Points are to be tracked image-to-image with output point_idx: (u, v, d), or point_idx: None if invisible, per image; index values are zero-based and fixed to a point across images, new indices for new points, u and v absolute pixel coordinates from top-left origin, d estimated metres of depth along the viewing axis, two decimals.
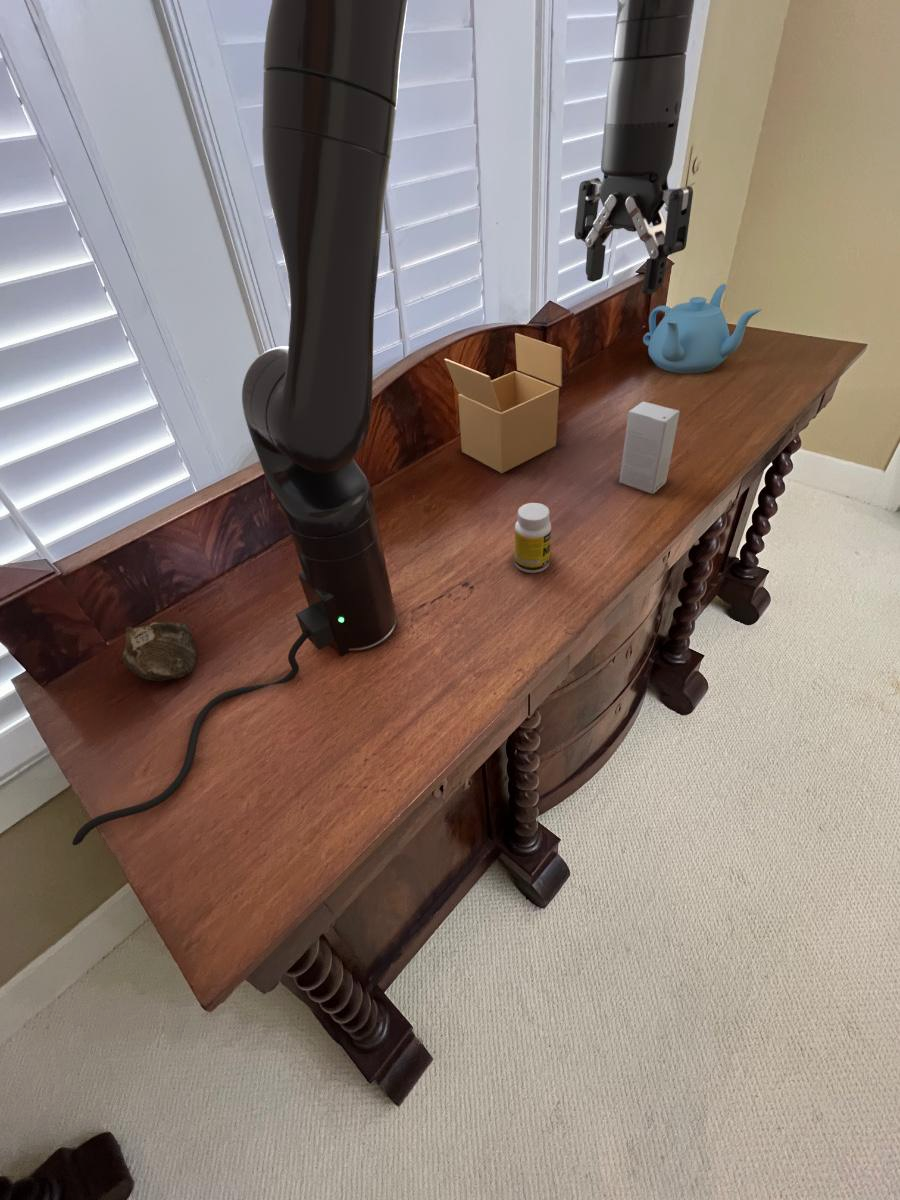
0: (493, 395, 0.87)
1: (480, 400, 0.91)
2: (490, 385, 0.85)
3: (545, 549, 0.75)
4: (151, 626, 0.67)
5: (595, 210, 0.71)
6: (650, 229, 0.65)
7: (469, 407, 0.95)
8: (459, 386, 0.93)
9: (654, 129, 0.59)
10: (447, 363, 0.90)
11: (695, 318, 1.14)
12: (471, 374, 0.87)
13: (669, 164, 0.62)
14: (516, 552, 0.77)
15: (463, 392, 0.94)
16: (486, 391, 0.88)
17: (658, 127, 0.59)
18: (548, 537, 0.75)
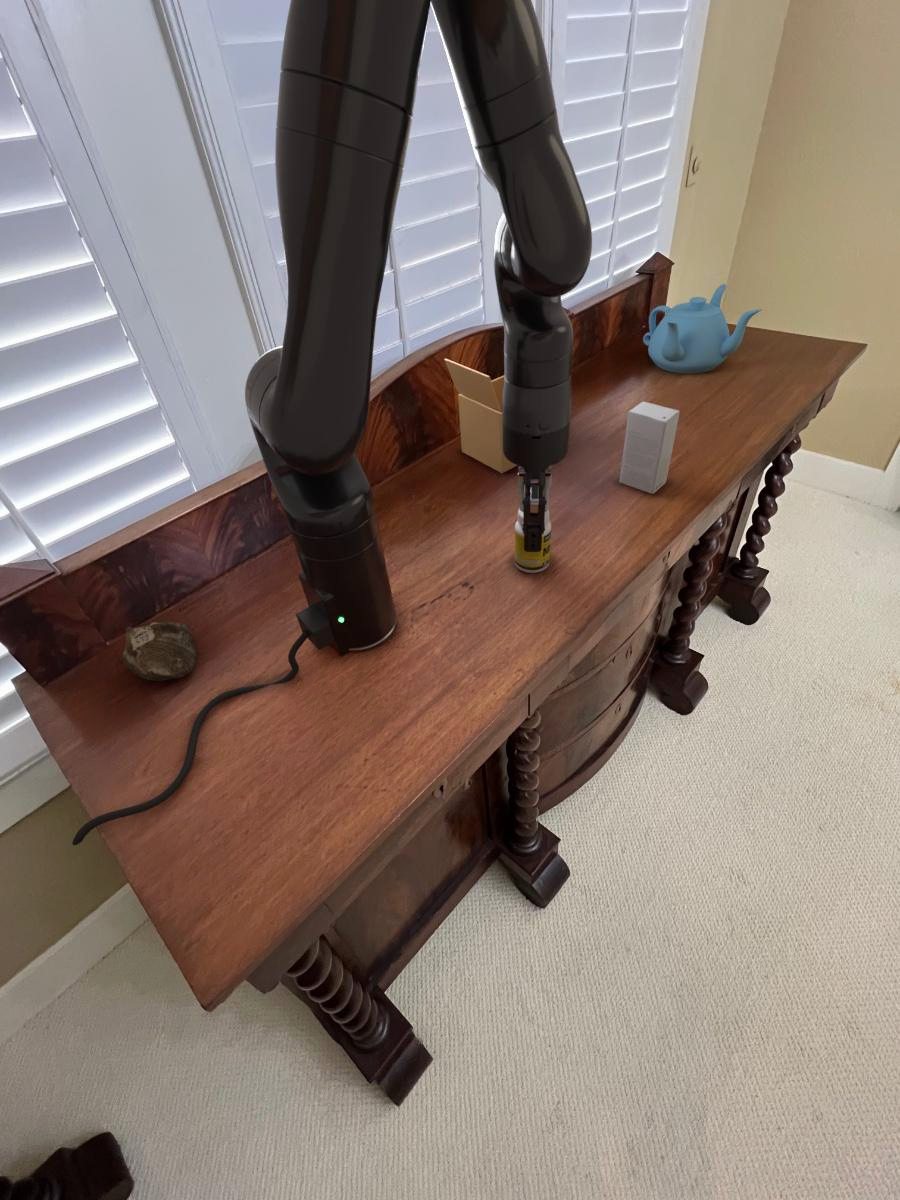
0: (493, 395, 0.87)
1: (480, 400, 0.91)
2: (490, 385, 0.85)
3: (545, 549, 0.75)
4: (151, 626, 0.67)
5: None
6: (524, 507, 0.70)
7: (469, 407, 0.95)
8: (459, 386, 0.93)
9: (518, 436, 0.63)
10: (447, 363, 0.90)
11: (695, 318, 1.14)
12: (471, 374, 0.87)
13: (543, 464, 0.65)
14: (516, 552, 0.77)
15: (463, 392, 0.94)
16: (486, 391, 0.88)
17: (521, 436, 0.63)
18: (548, 537, 0.75)
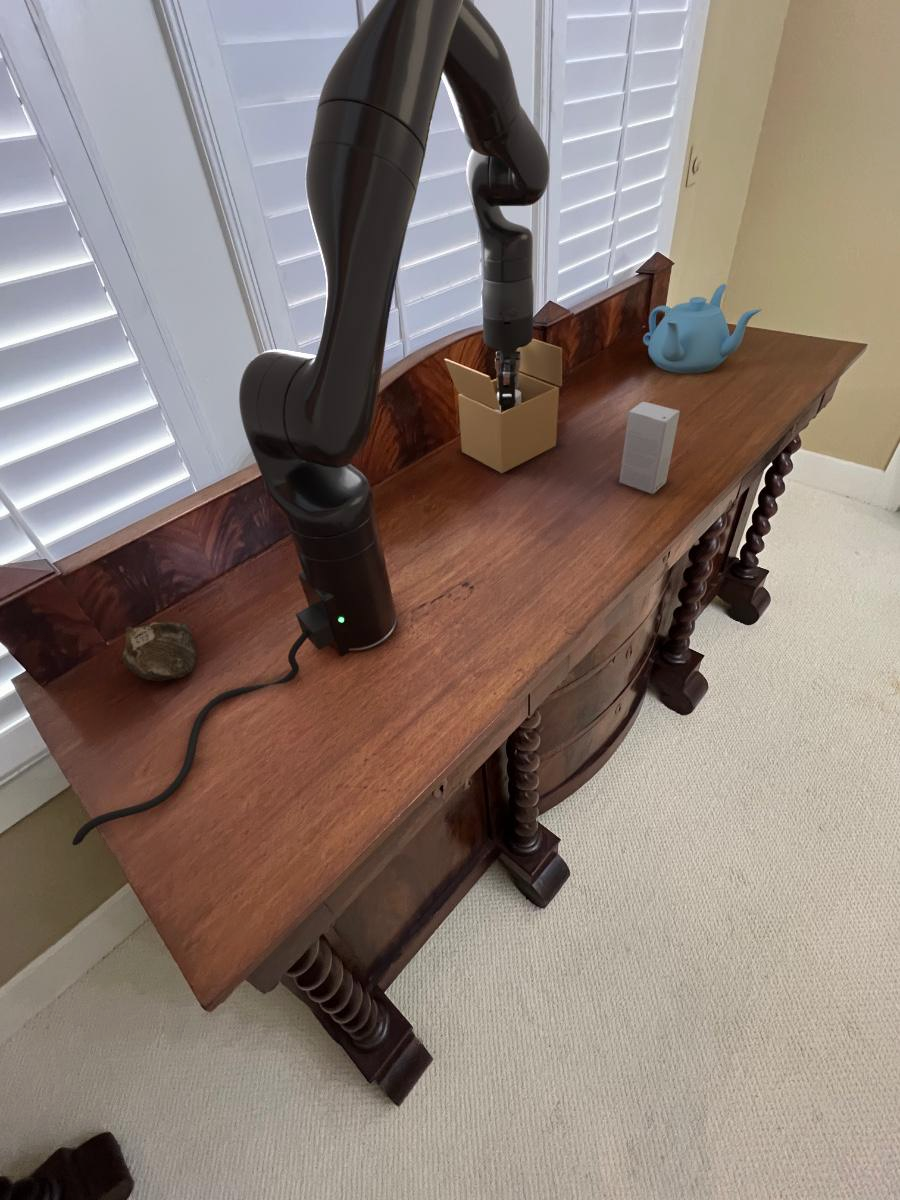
0: (493, 395, 0.87)
1: (480, 400, 0.91)
2: (490, 385, 0.85)
3: None
4: (151, 626, 0.67)
5: None
6: None
7: (469, 407, 0.95)
8: (459, 386, 0.93)
9: (493, 323, 0.85)
10: (447, 363, 0.90)
11: (695, 318, 1.14)
12: (471, 374, 0.87)
13: (512, 346, 0.87)
14: None
15: (463, 392, 0.94)
16: (486, 391, 0.88)
17: (496, 322, 0.85)
18: None
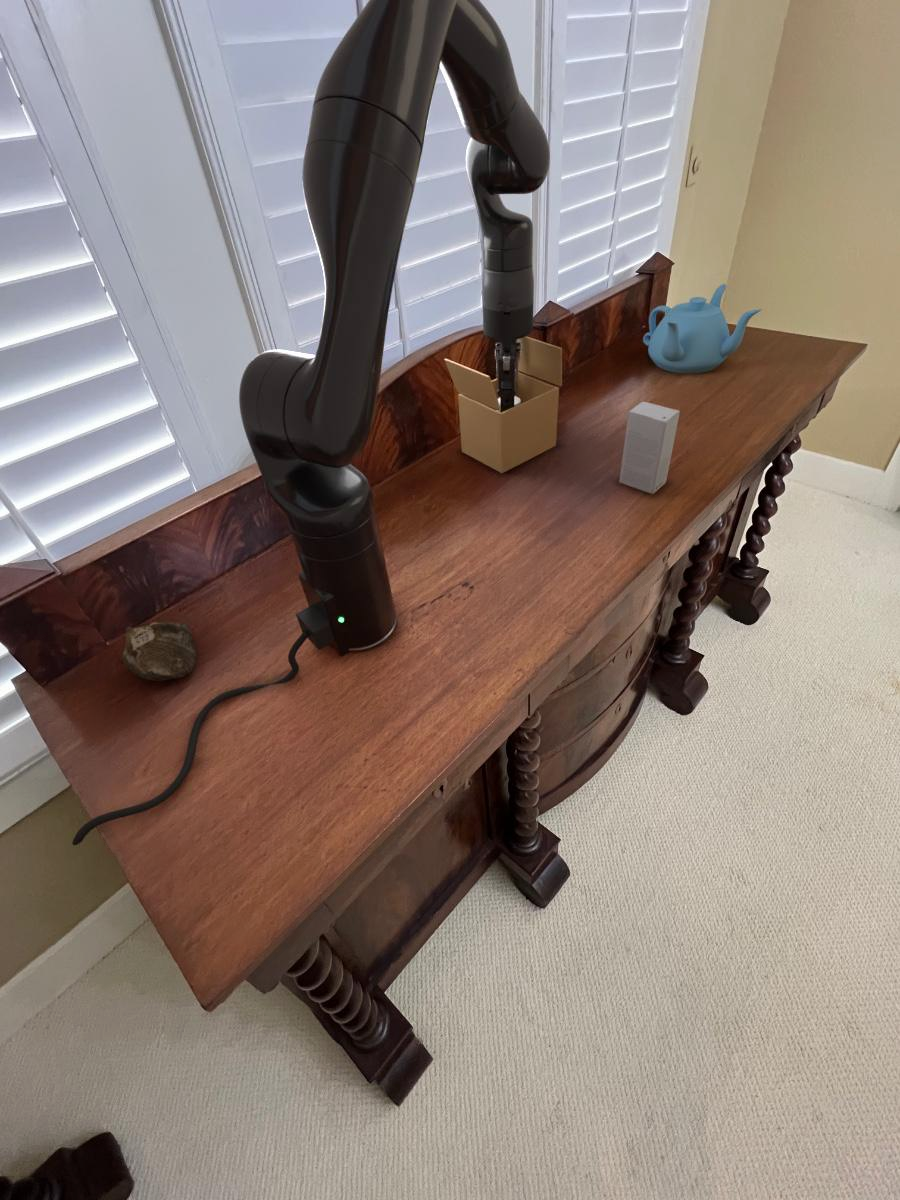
0: (493, 395, 0.87)
1: (480, 400, 0.91)
2: (490, 385, 0.85)
3: None
4: (151, 626, 0.67)
5: None
6: None
7: (469, 407, 0.95)
8: (459, 386, 0.93)
9: (493, 313, 0.84)
10: (447, 363, 0.90)
11: (695, 318, 1.14)
12: (471, 374, 0.87)
13: (512, 336, 0.86)
14: None
15: (463, 392, 0.94)
16: (486, 391, 0.88)
17: (495, 313, 0.84)
18: None
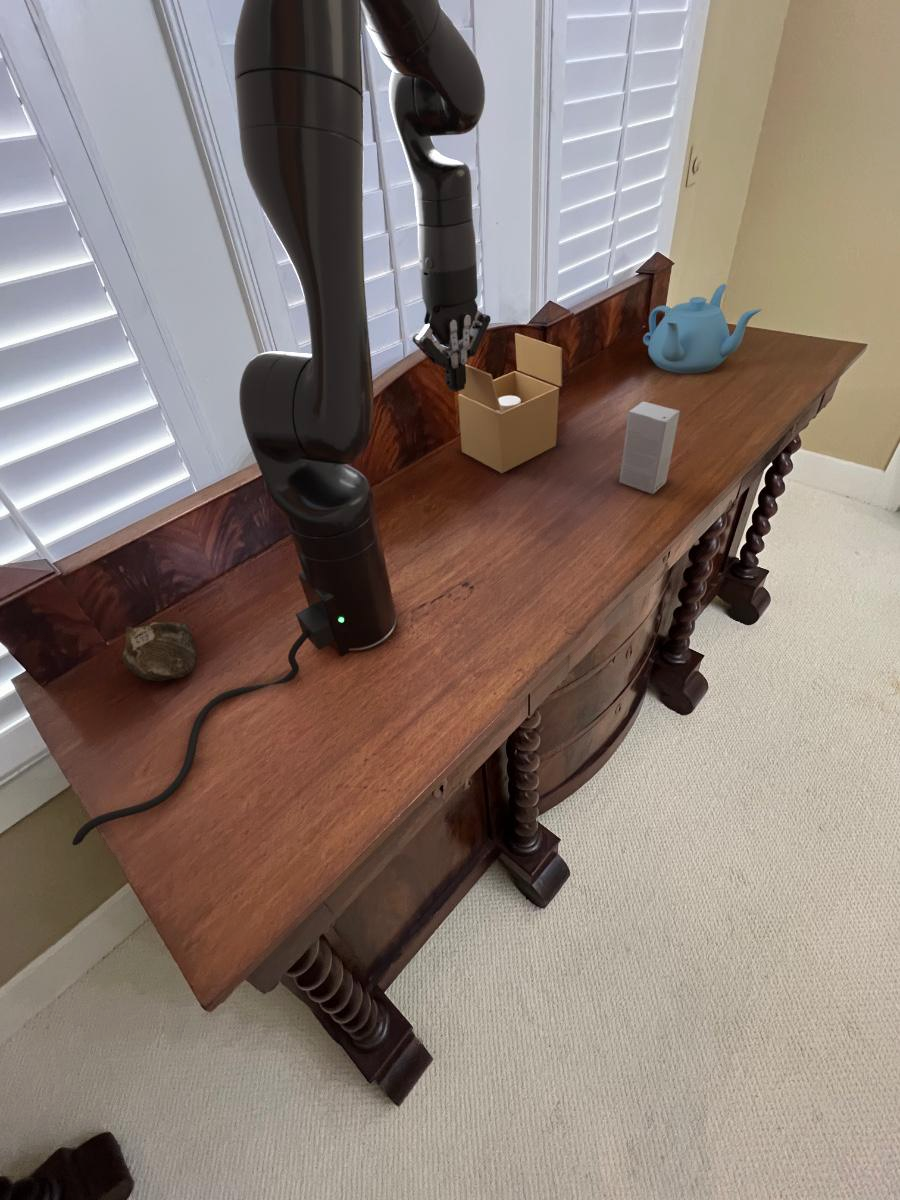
0: (494, 394, 0.87)
1: (480, 400, 0.91)
2: (491, 384, 0.85)
3: None
4: (151, 626, 0.67)
5: (475, 335, 0.84)
6: (439, 345, 0.84)
7: (469, 407, 0.95)
8: None
9: (420, 271, 0.77)
10: None
11: (695, 318, 1.14)
12: (473, 373, 0.87)
13: (432, 302, 0.77)
14: None
15: (463, 392, 0.94)
16: (487, 390, 0.88)
17: (420, 271, 0.76)
18: None
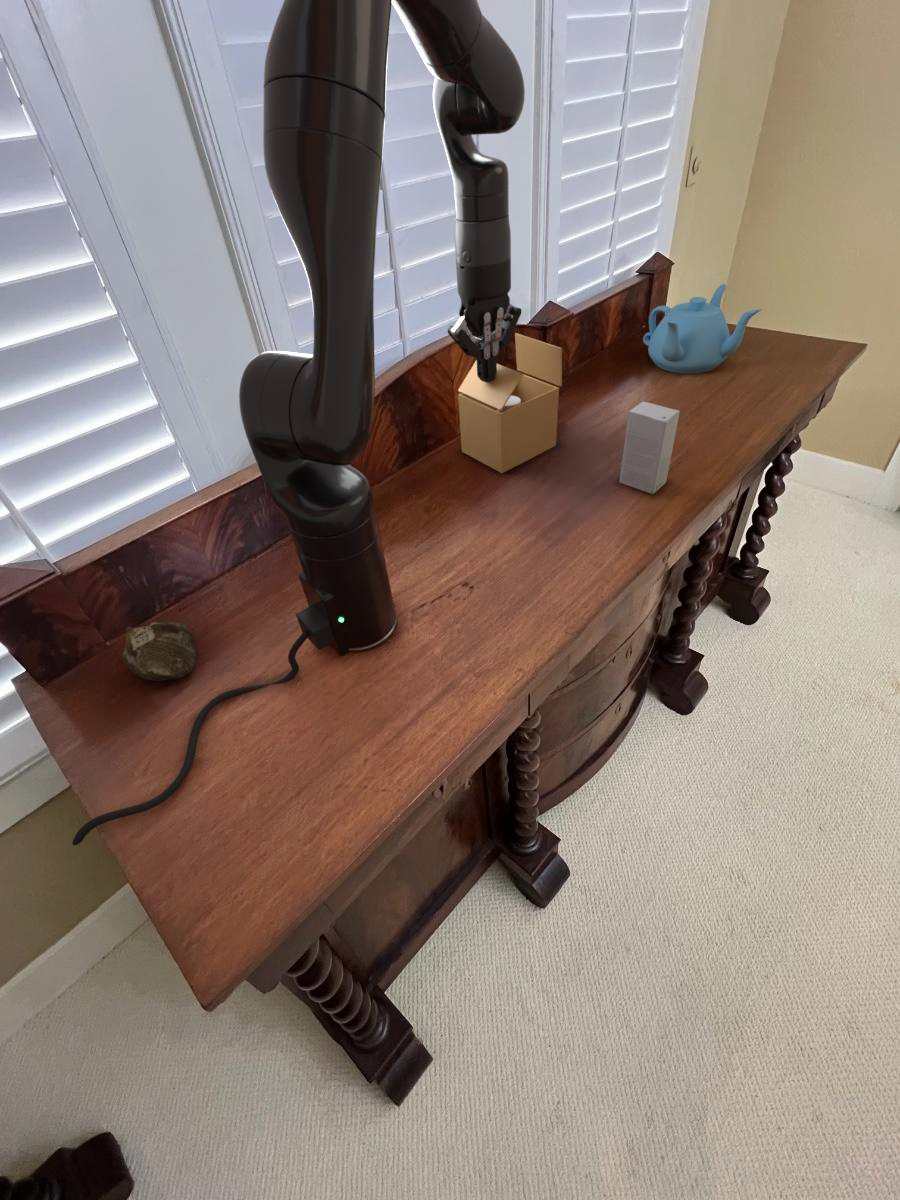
0: (509, 392, 0.89)
1: (482, 399, 0.91)
2: (516, 382, 0.88)
3: None
4: (151, 626, 0.67)
5: (507, 327, 0.87)
6: (472, 337, 0.87)
7: (469, 407, 0.95)
8: (468, 384, 0.94)
9: (456, 265, 0.80)
10: None
11: (695, 318, 1.14)
12: (501, 371, 0.91)
13: (468, 295, 0.80)
14: None
15: (466, 391, 0.94)
16: (503, 388, 0.90)
17: (456, 265, 0.79)
18: None
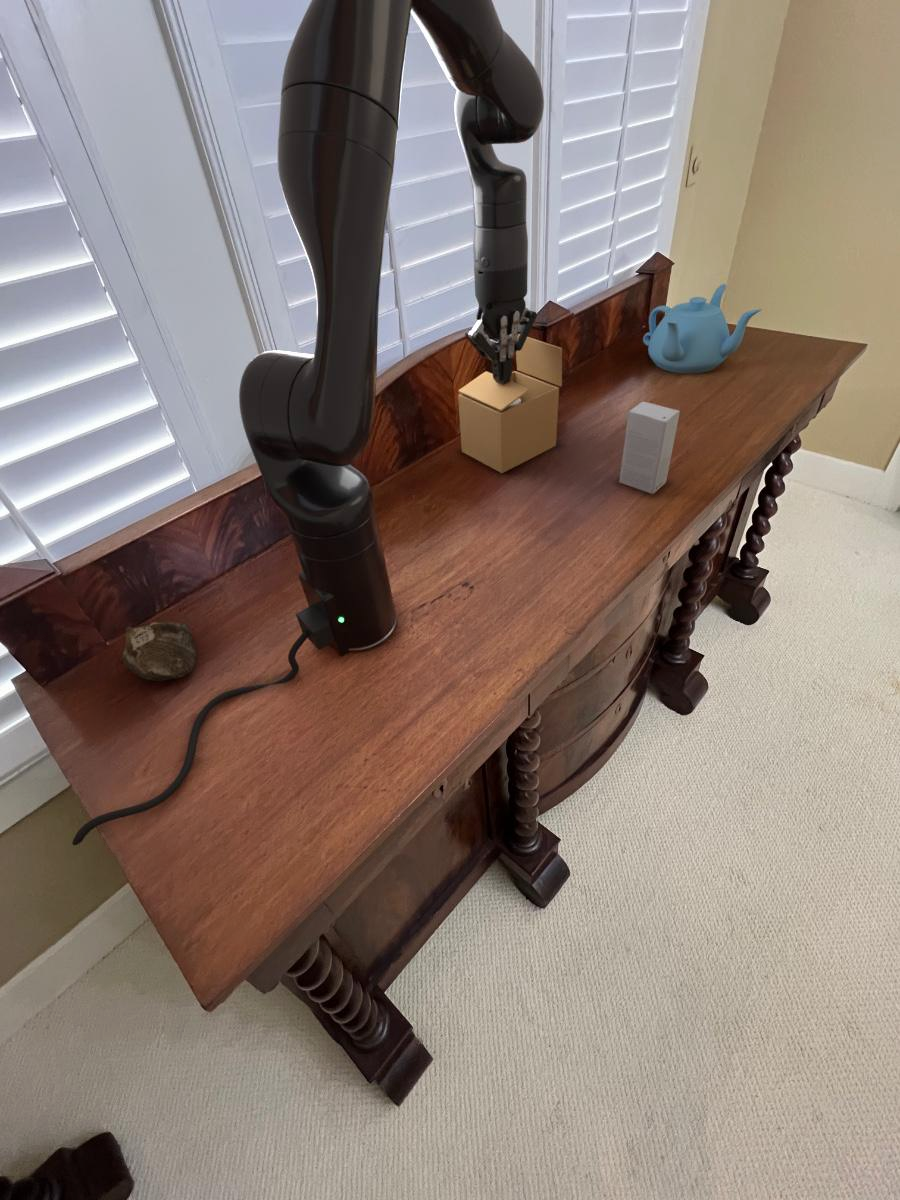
0: (513, 399, 0.90)
1: (483, 400, 0.92)
2: (522, 393, 0.90)
3: None
4: (151, 626, 0.67)
5: (522, 330, 0.89)
6: (488, 340, 0.89)
7: (469, 407, 0.95)
8: (470, 388, 0.95)
9: (474, 270, 0.82)
10: (485, 373, 0.96)
11: (695, 318, 1.14)
12: (507, 384, 0.93)
13: (486, 299, 0.82)
14: None
15: (467, 392, 0.94)
16: (507, 395, 0.91)
17: (475, 270, 0.82)
18: None
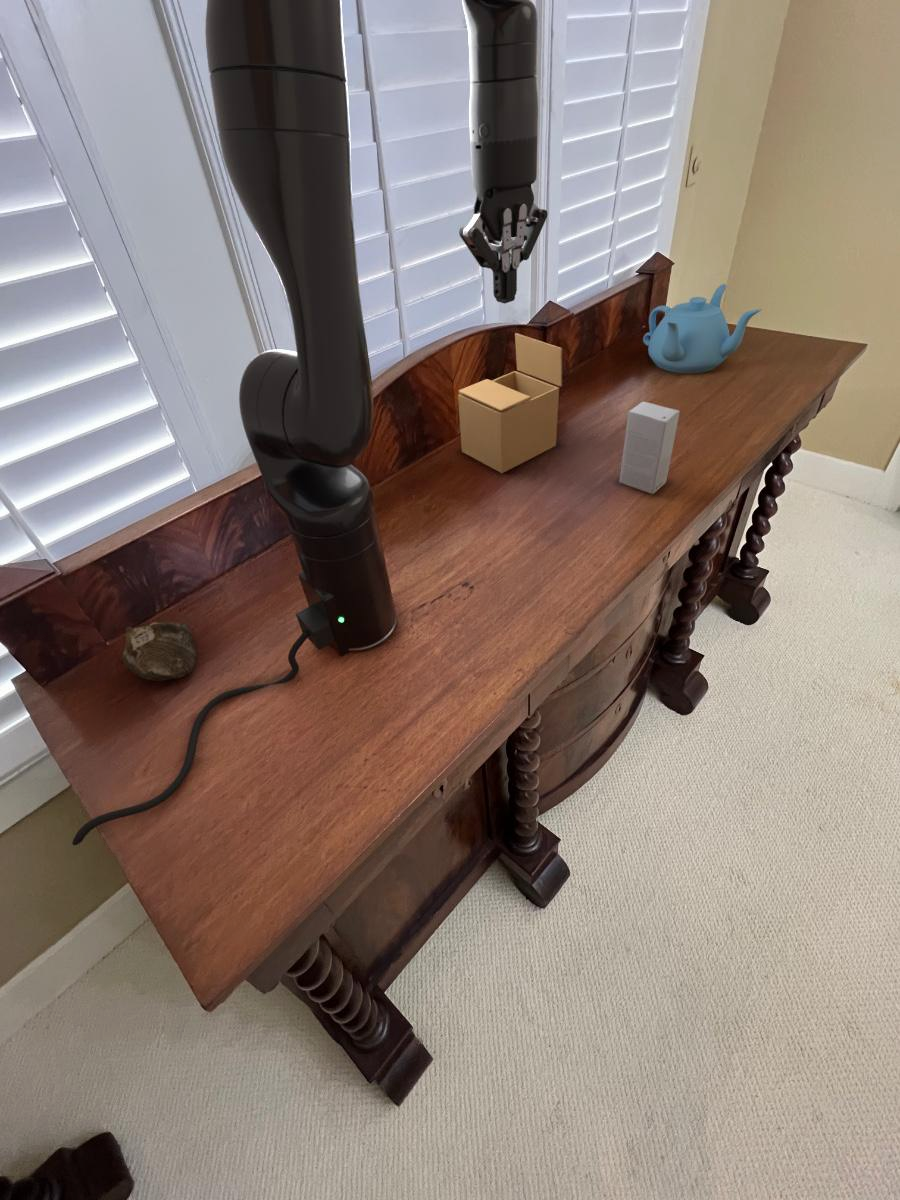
0: (513, 403, 0.90)
1: (483, 400, 0.92)
2: (522, 399, 0.91)
3: None
4: (151, 626, 0.67)
5: (530, 233, 0.73)
6: (488, 245, 0.72)
7: (469, 407, 0.95)
8: (470, 389, 0.95)
9: (470, 147, 0.65)
10: (486, 380, 0.97)
11: (695, 318, 1.14)
12: (508, 390, 0.94)
13: (485, 184, 0.66)
14: None
15: (468, 392, 0.94)
16: (508, 399, 0.91)
17: (471, 146, 0.65)
18: None
